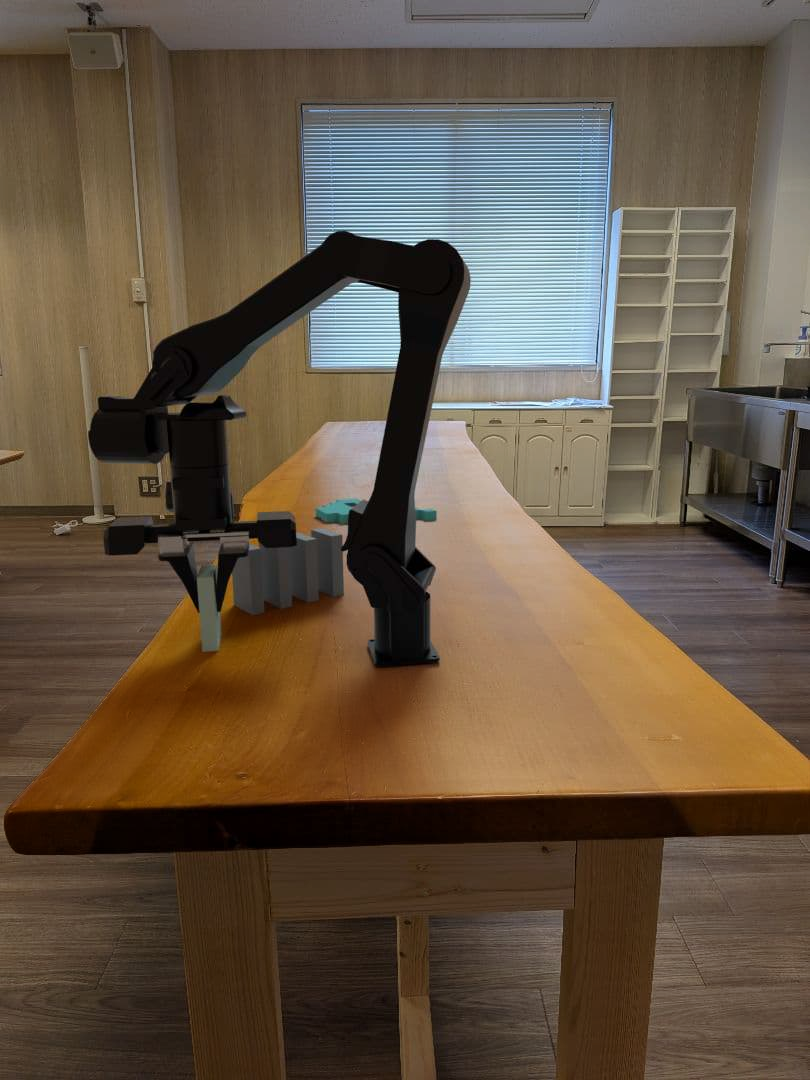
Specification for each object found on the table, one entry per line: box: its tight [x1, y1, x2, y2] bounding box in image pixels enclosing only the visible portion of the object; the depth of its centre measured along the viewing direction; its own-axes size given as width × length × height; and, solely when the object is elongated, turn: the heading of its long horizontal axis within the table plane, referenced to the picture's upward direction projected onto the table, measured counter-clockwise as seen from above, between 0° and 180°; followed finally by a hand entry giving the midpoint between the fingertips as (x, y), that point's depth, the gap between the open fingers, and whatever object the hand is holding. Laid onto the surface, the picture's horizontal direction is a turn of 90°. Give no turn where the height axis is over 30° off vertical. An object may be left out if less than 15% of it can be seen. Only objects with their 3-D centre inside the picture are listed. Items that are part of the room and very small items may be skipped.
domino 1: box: [231, 543, 265, 616], centre depth 88 cm, size 2×5×8 cm, turn 38°
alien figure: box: [315, 497, 437, 525], centre depth 145 cm, size 20×2×20 cm
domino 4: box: [310, 527, 345, 598], centre depth 95 cm, size 2×5×8 cm, turn 38°
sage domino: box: [197, 563, 222, 653], centre depth 77 cm, size 2×5×8 cm, turn 10°
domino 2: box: [258, 542, 293, 610], centre depth 90 cm, size 2×5×8 cm, turn 38°
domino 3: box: [290, 531, 320, 604], centre depth 93 cm, size 2×5×8 cm, turn 38°
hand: (209, 611), depth 77 cm, fingers closed on sage domino, 2 cm apart
